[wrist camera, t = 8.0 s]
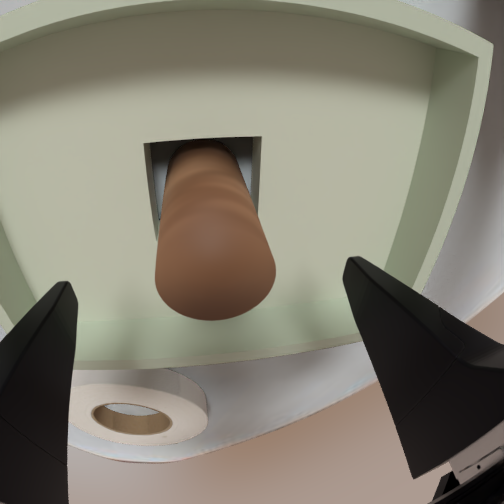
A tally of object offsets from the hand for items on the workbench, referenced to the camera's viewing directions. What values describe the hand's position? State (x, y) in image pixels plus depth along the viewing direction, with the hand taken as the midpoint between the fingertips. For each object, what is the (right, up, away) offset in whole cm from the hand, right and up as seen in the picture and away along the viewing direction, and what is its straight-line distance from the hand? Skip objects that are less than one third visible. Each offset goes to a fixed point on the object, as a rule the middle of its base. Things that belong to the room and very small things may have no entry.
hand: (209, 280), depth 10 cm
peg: (-1, +5, +6) cm, 8 cm away
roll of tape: (-11, -14, +19) cm, 26 cm away
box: (-1, +5, +6) cm, 8 cm away
